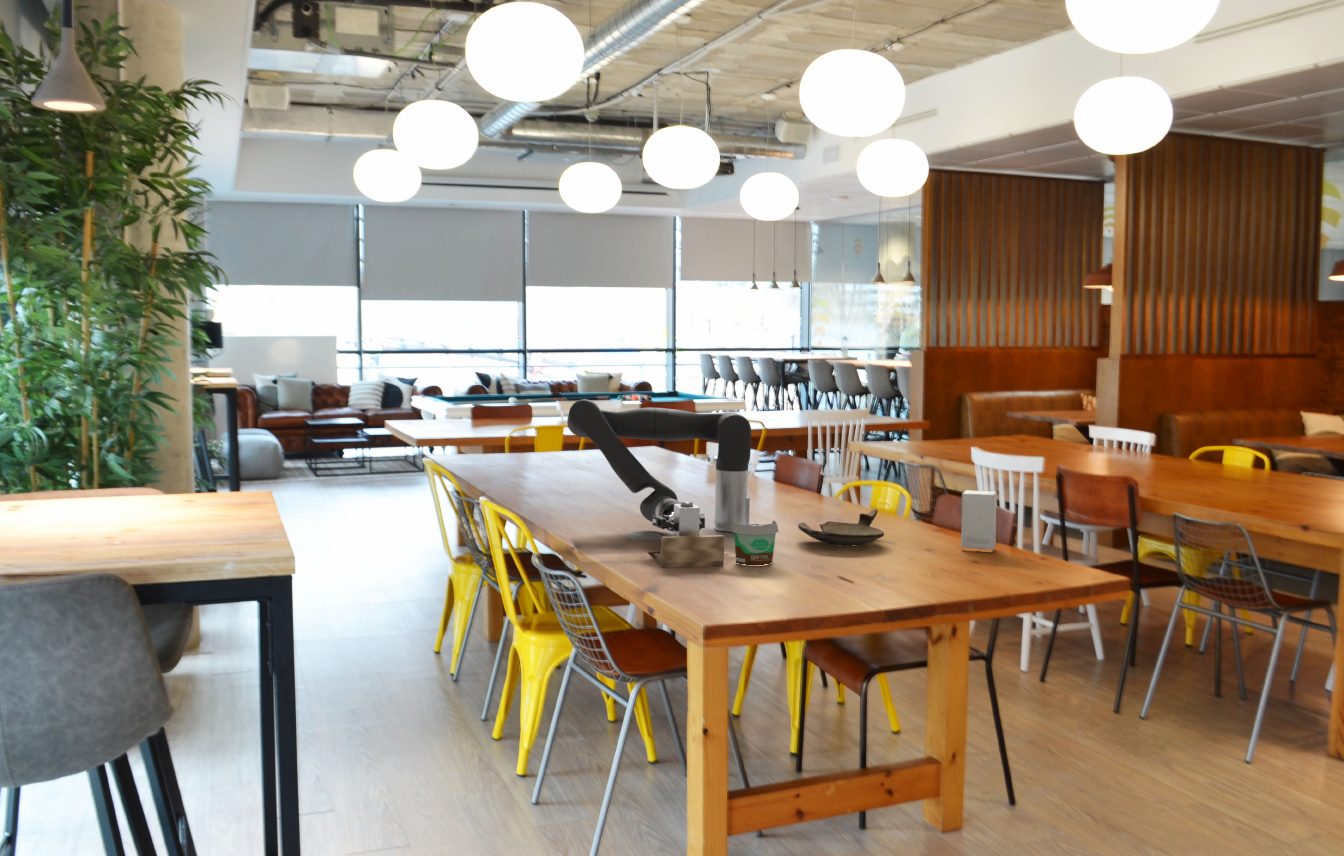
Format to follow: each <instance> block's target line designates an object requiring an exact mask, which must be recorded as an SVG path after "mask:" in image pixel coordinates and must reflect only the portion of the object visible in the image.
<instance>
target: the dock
mask: <svg viewBox="0 0 1344 856" xmlns="http://www.w3.org/2000/svg"><path fill="white" fill-rule="evenodd" d="M647 553H648V554H649V556H650V557H652V559H654V560H655V562H656V563H657V564H659V566H661V567H662V568H663V567H668V568H686V567H685V566H698V567H711V566H710V565H724V564H725V562H724V560H725V556H724V555H725V554H724V553H725V536H724V535H723V534H720V535H719V534H718V535H717V534H716V535H714V534H713V535H699V536H674V537H673V536H662V538H661V539H660V551H649V552H648V551H647Z"/></svg>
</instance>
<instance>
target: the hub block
mask: <svg viewBox="0 0 1344 856" xmlns="http://www.w3.org/2000/svg"><path fill="white" fill-rule="evenodd" d="M680 503H681V504H674V520H675V521H676V522H678V531H673V535H672V537H674V536H700V531H699V521H700V514H701V513H700V512H701V511H700V509H701V508H700V506H698V505H697V504H695V503H694V502H692V501H680Z"/></svg>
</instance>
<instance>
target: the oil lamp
mask: <svg viewBox="0 0 1344 856" xmlns="http://www.w3.org/2000/svg"><path fill="white" fill-rule="evenodd" d="M877 514H878V509H877V508H873V509H871V510H870V511H869V512H868V513H859V518H858V523H853V522H852V523H851V522H849V523H848V522H840V521H839V522H838V521H826V522H825V523H820V524H819V527H820V530H821V531H820V530H815V529H812V528H811V527H810V526H809V525H808V524H807V523H805V522H800V523H798V525H797V527H798V529H799V530H800V531H801V532H803V533H804V534H805V535H807V536H808V537H810V538H812V539H814V540H816V541H819V542H821V543H824V544H827V545H832V546H833V545H834V546H838V545H841V546H840V547H853V546H852V545H859V546H861V545H862V546H863V545H865V544H868V543H872V542H874V541H876V540H878V539H880V538H882V537H883V538H884V536H885V533H884V531H882V530H881V529H880V528H877V527H873V526H871V525H872V523H873V521H874V520H875V518H876V516H877Z"/></svg>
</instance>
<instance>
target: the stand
mask: <svg viewBox="0 0 1344 856" xmlns="http://www.w3.org/2000/svg"><path fill="white" fill-rule="evenodd" d="M624 534H625V536H627V538H628V539H630V540H631V541H641V540H642V541H643V540H644V541H646V540H647V541H648V540H649V541H650V540H651V541H654V540H661V538H662V537H663V536H662V535H661V534H660V533H659V532H631V533H629V532H627V533H624Z"/></svg>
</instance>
